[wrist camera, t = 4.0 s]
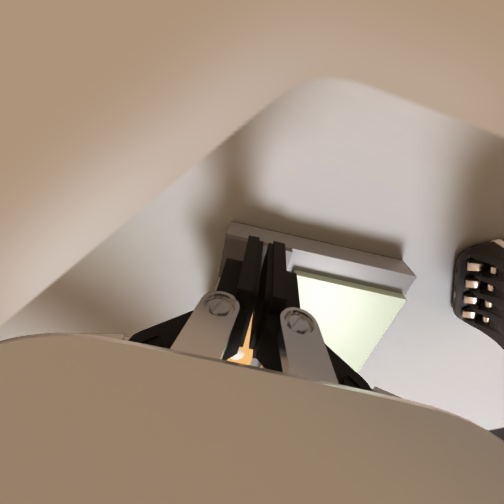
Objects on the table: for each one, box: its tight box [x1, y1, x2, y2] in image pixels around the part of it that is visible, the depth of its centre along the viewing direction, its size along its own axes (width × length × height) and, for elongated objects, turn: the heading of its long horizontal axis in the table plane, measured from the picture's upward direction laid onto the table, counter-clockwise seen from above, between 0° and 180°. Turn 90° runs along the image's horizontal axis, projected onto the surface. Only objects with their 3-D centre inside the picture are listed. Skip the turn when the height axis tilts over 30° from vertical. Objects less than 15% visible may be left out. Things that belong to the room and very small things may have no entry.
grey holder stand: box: [214, 221, 417, 373], centre depth 19 cm, size 13×12×6 cm
